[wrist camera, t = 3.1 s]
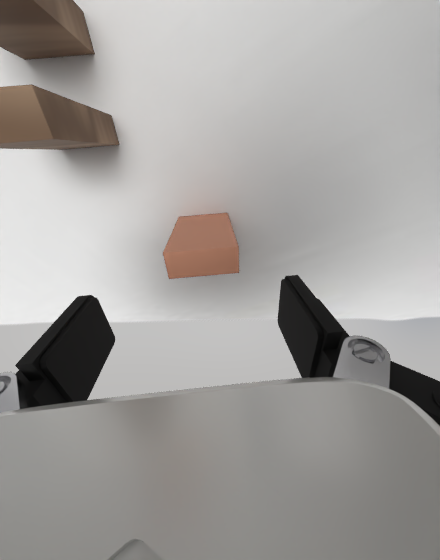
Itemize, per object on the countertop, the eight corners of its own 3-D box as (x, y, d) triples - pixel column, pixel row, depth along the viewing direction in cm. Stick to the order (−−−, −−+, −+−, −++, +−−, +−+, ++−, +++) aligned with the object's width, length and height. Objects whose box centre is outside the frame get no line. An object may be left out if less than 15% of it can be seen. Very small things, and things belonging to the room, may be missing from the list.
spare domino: (178, 216, 21) (162, 252, 14) (227, 212, 21) (238, 246, 14) (182, 235, 22) (168, 278, 15) (228, 231, 22) (239, 272, 15)
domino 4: (49, 120, 17) (-83, 93, 9) (111, 115, 17) (31, 84, 9) (61, 149, 18) (-49, 147, 10) (119, 144, 18) (53, 139, 10)
